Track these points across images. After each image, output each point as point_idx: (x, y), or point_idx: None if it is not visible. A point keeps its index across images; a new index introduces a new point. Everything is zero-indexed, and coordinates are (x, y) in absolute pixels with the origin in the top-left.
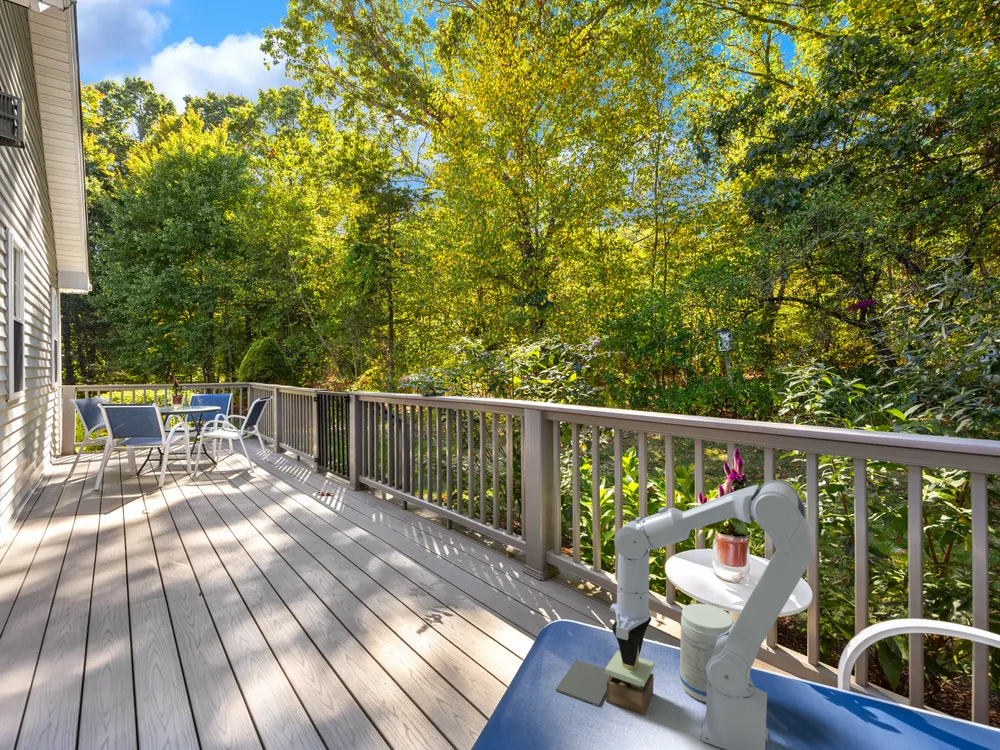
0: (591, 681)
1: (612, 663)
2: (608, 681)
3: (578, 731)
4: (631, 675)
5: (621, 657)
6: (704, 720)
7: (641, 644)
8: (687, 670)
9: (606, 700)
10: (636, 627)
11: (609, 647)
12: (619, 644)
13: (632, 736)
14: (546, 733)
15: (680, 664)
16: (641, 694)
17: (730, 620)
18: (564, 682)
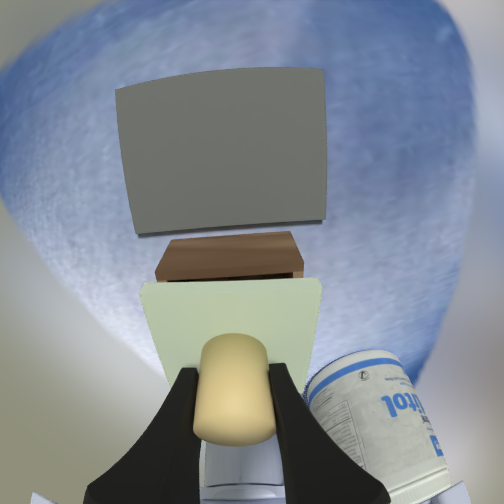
0: (225, 165)
1: (198, 305)
2: (162, 276)
3: (43, 228)
4: (178, 370)
5: (175, 381)
6: None
7: (277, 439)
8: (330, 412)
9: (170, 242)
10: (288, 494)
11: (443, 157)
12: (142, 437)
13: (115, 323)
14: (4, 177)
15: (360, 390)
16: None
17: None
18: (160, 91)
